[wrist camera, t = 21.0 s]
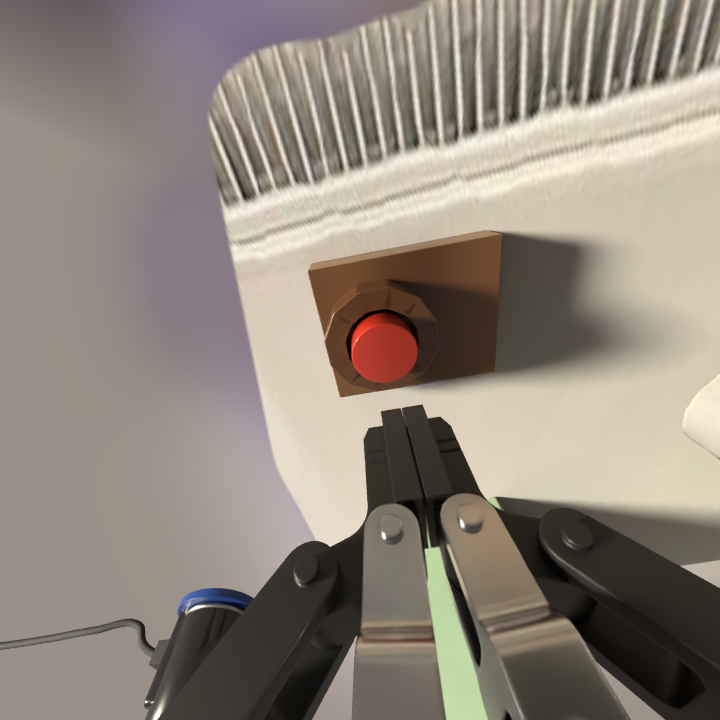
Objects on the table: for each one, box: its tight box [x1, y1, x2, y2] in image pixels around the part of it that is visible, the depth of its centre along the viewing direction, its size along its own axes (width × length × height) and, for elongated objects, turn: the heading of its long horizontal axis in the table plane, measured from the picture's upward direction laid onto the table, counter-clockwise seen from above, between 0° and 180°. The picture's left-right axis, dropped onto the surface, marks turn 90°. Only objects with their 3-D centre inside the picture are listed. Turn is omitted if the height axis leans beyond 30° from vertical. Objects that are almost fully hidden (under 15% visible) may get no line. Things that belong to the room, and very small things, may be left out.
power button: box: [351, 313, 418, 383], centre depth 16 cm, size 4×4×2 cm
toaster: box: [425, 497, 505, 720], centre depth 27 cm, size 13×9×15 cm, turn 124°
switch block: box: [308, 230, 502, 397], centre depth 19 cm, size 11×9×4 cm
